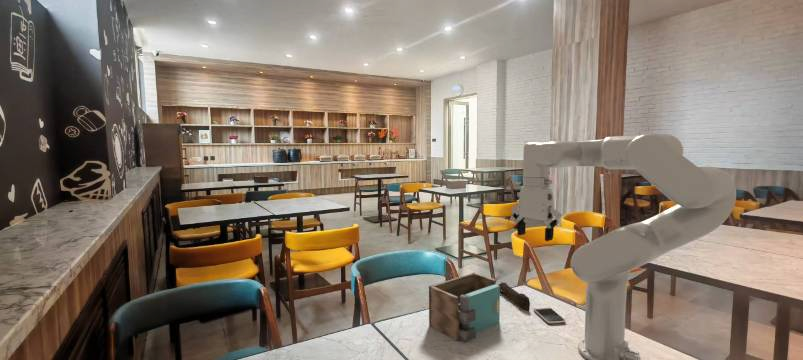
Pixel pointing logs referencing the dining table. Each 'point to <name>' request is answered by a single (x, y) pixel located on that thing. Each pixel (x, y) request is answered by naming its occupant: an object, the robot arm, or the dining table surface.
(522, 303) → the hand tool
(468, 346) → the dining table surface
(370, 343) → the dining table surface
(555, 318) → the cell phone
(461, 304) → the door
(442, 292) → the cabinet
